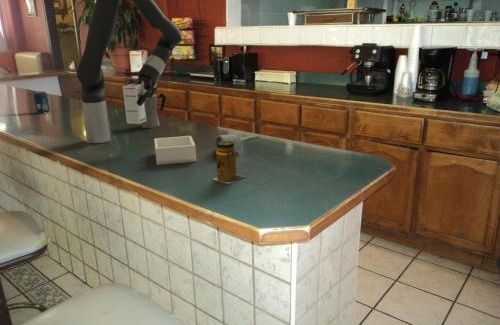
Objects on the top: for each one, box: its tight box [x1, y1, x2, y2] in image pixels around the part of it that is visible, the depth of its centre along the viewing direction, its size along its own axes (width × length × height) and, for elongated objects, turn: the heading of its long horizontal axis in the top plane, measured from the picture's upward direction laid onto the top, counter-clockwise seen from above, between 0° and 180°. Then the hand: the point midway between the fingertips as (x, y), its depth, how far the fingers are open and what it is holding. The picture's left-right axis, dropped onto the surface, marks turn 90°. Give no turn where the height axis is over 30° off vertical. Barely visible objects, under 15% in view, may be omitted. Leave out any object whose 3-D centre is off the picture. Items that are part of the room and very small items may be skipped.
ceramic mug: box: [214, 134, 242, 153], centre depth 152 cm, size 11×8×8 cm
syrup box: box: [122, 84, 147, 125], centre depth 152 cm, size 6×6×14 cm
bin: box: [154, 135, 197, 166], centre depth 147 cm, size 14×14×6 cm
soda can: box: [33, 91, 51, 114], centre depth 229 cm, size 7×7×12 cm
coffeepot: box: [140, 93, 167, 129], centre depth 194 cm, size 15×9×18 cm, turn 113°
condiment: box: [212, 141, 247, 185], centre depth 125 cm, size 7×8×12 cm
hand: (131, 103), depth 151 cm, fingers closed on syrup box, 7 cm apart
